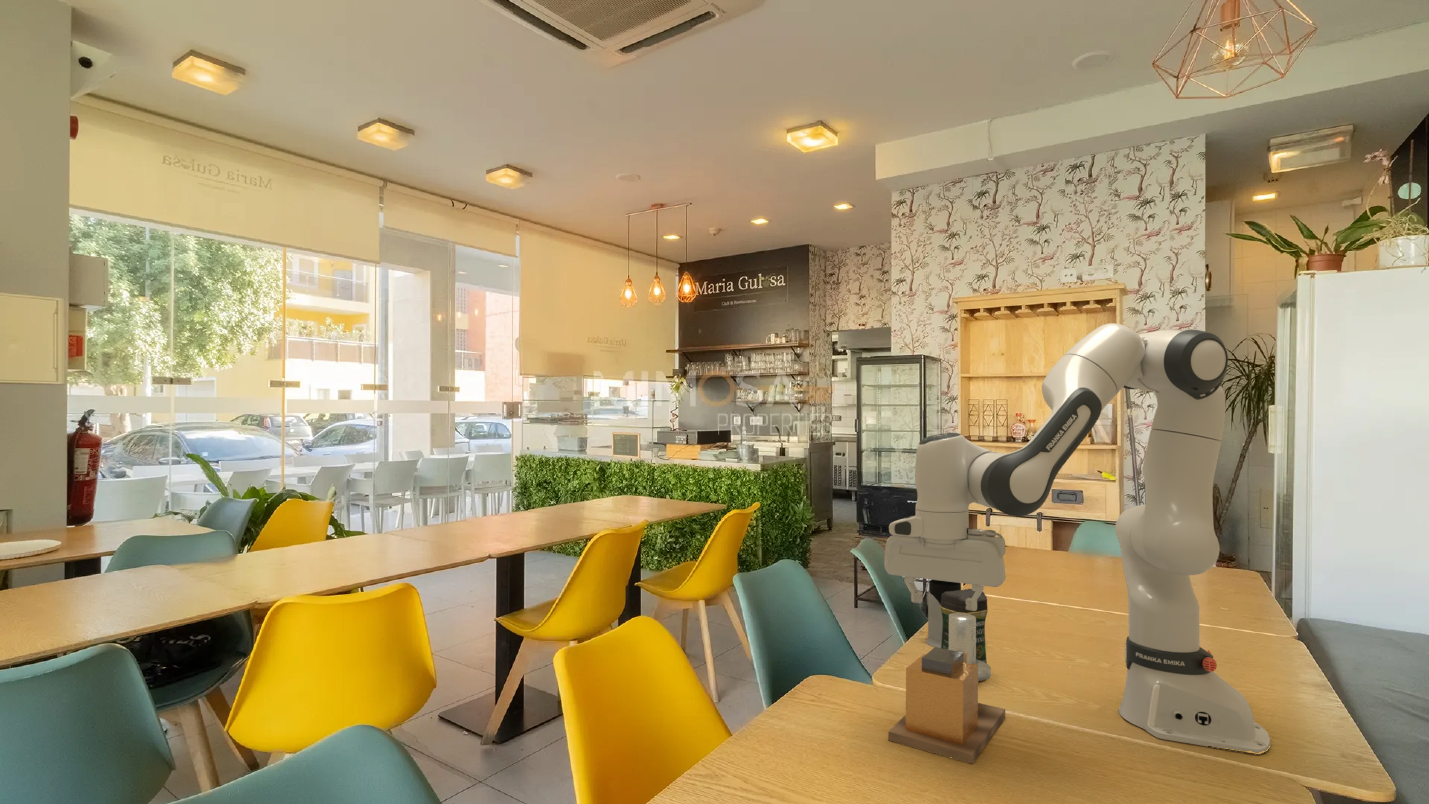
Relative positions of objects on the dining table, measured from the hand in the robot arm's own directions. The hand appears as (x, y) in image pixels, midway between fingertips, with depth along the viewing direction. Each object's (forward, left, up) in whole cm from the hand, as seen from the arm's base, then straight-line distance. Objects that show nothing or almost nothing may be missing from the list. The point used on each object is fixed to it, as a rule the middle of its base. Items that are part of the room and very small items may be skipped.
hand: (943, 606), depth 122 cm
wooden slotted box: (0, -6, -21) cm, 22 cm away
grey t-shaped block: (0, 0, -20) cm, 20 cm away
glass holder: (+13, -53, -23) cm, 59 cm away
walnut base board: (0, -3, -23) cm, 23 cm away
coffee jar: (+5, -31, -23) cm, 39 cm away
